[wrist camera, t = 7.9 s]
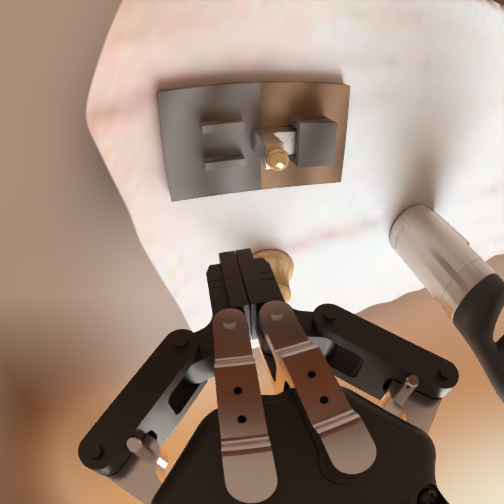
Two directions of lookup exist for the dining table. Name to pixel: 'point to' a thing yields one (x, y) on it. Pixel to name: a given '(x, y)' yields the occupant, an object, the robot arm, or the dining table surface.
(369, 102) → the dining table surface
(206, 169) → the lock plate
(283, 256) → the hand bell
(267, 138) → the bolt
